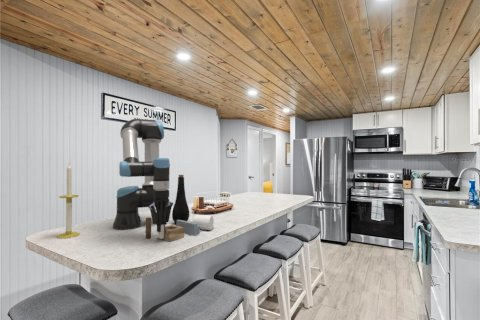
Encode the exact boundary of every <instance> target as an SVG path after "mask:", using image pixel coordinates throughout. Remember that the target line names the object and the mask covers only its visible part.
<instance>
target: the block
mask: <svg viewBox="0 0 480 320" xmlns="http://www.w3.org/2000/svg"><path fill="white" fill-rule="evenodd" d="M184 237H185V233H184V227H181V226H176V224H170V225H165V231H164V238H163V239H162V240H164V241H168V242H173V241H177V240H179V239H183V238H184Z"/></svg>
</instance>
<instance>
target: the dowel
mask: <svg viewBox="0 0 480 320" xmlns="http://www.w3.org/2000/svg"><path fill="white" fill-rule="evenodd" d="M145 239H148V240H150V239H152V217H150V216H149V217H145Z"/></svg>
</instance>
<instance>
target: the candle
mask: <svg viewBox="0 0 480 320" xmlns="http://www.w3.org/2000/svg"><path fill="white" fill-rule="evenodd" d="M72 171H73V168H72V166H71V164H70V162H69V163H68V166H67V167H66V194H65V195H59V198H60V199H65V202H66V203H65V232H64V233H60V234H58V235H57V239H62V238H63V239H71V237H72V238H76V237H79V236H80V235H81V233H80V232H77V231H73V227H72V226H73V225H72V224H73V198H78V197H79V196H80V195H79V194H72V191H73V190H72V189H73V188H72V186H73V183H72V182H73V181H72V180H73V179H72V177H73V174H72V173H73V172H72ZM78 235H79V236H78Z"/></svg>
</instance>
